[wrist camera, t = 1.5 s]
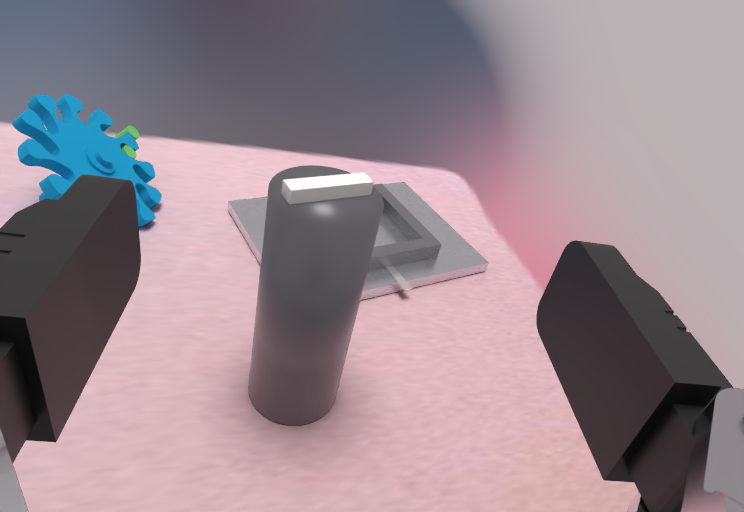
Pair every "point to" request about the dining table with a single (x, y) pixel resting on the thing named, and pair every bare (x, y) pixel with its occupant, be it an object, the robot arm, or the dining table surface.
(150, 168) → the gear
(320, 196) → the grey peg
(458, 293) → the dining table surface
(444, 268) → the grey peg base plate
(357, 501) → the dining table surface
